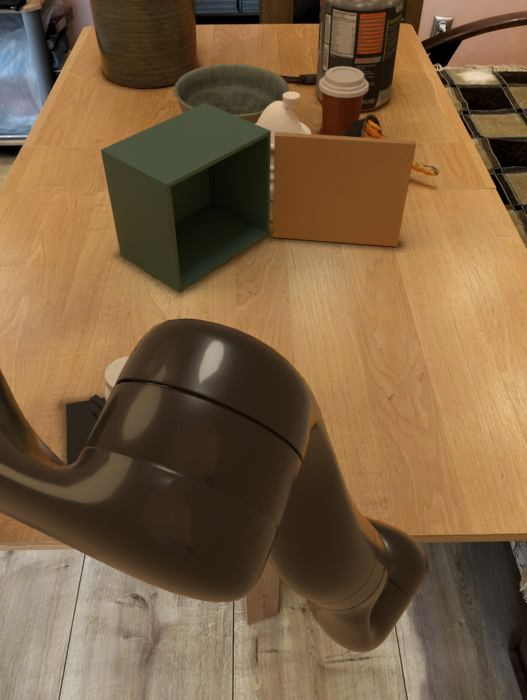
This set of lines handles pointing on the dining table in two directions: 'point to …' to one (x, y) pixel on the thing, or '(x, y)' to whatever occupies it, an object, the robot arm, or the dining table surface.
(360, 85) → the coffee cup
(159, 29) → the planter
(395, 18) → the supplement tub
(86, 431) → the mat
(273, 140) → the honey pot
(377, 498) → the dining table surface
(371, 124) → the fried food
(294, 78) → the knife
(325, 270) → the dining table surface
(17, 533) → the dining table surface
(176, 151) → the cupboard
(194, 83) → the bowl
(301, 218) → the cupboard door
